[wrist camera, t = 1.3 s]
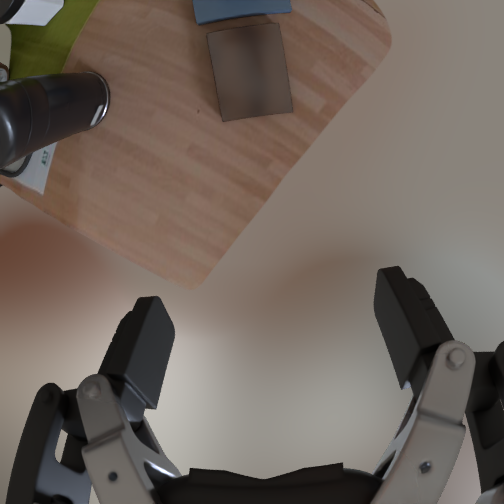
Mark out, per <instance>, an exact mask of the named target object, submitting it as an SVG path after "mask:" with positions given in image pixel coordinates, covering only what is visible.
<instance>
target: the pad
mask: <svg viewBox="0 0 504 504" xmlns="http://www.w3.org/2000/svg"><path fill="white" fill-rule="evenodd" d="M206 35H207V41H208V46H209V51H210V57H211V62H212V68H213V73H214V78H215V84H216V89H217V94H218V99H219V105H220V110H221V115H222V121H223V122H226V121H231V120H237V119H244V118H250V117H257V116H265V115H273V114H281V113H291V112H293V107H292V99H291V92H290V86H289V79H288V73H287V66H286V60H285V54H284V48H283V43H282V37H281V32H280V27H279V23H272V24H262V25H253V26H246V27H239V28H233V29H227V30H221V31H216V32H211V33H207V34H206Z"/></svg>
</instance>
